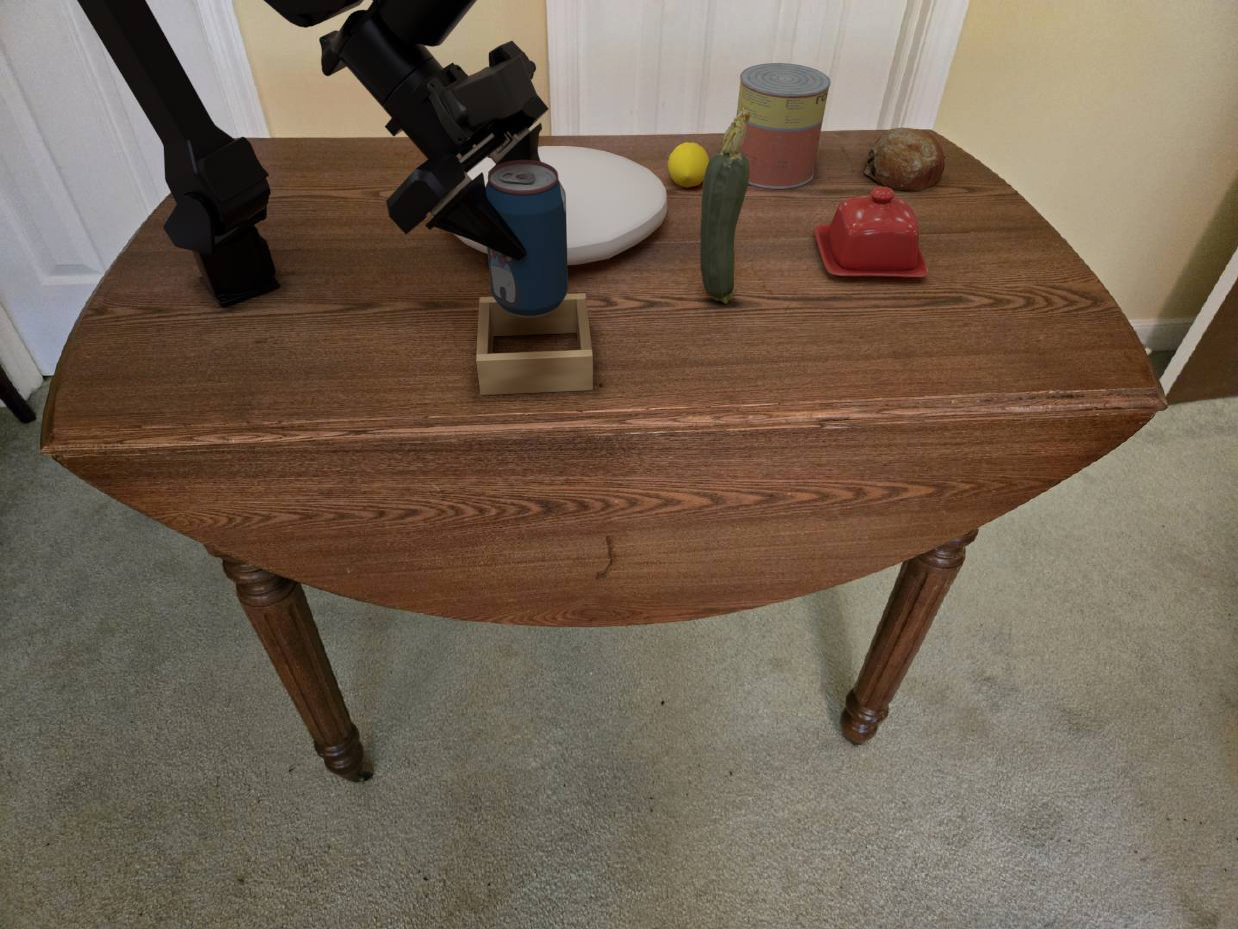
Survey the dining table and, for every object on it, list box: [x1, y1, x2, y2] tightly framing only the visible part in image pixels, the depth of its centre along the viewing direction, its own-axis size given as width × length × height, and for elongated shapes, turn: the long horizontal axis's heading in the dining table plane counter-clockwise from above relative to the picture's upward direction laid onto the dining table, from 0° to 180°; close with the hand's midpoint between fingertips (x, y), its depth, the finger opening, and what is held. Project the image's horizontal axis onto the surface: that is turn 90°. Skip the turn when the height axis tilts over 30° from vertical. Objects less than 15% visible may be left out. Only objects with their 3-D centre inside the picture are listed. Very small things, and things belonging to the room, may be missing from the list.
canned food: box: [736, 62, 832, 190], centre depth 107 cm, size 11×11×12 cm
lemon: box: [667, 141, 710, 189], centre depth 106 cm, size 7×5×5 cm
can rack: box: [475, 292, 594, 396], centre depth 78 cm, size 10×10×4 cm
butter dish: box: [813, 186, 929, 278], centre depth 91 cm, size 12×12×8 cm
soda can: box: [485, 160, 569, 318], centre depth 71 cm, size 7×7×12 cm
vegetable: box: [699, 107, 751, 304], centre depth 81 cm, size 4×4×20 cm
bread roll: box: [864, 127, 946, 192], centre depth 109 cm, size 10×10×8 cm
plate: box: [453, 145, 668, 266], centre depth 97 cm, size 28×6×27 cm
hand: (541, 237), depth 70 cm, fingers closed on soda can, 7 cm apart
